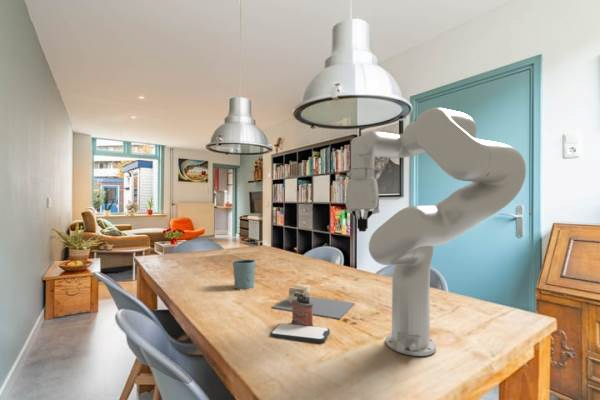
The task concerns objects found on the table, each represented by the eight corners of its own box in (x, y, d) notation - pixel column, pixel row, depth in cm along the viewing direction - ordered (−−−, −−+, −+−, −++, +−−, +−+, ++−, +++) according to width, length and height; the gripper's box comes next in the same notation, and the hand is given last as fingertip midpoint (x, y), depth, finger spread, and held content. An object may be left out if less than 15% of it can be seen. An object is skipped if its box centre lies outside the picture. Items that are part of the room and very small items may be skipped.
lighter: (315, 327, 95) (315, 294, 95) (308, 330, 92) (308, 297, 93) (296, 320, 100) (296, 289, 101) (289, 323, 98) (289, 291, 98)
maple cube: (289, 287, 117) (289, 303, 117) (303, 289, 114) (303, 306, 114) (296, 284, 122) (296, 299, 122) (310, 285, 120) (310, 301, 119)
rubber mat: (339, 319, 102) (339, 318, 102) (271, 307, 113) (271, 306, 113) (354, 304, 118) (354, 302, 118) (293, 295, 129) (293, 294, 129)
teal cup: (253, 290, 136) (253, 263, 136) (230, 290, 136) (230, 263, 137) (256, 284, 146) (256, 259, 147) (235, 284, 146) (235, 259, 147)
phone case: (268, 339, 88) (323, 346, 83) (268, 333, 88) (323, 339, 83) (280, 327, 97) (330, 333, 92) (280, 322, 97) (330, 327, 92)
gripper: (337, 174, 101) (337, 231, 101) (383, 173, 95) (383, 233, 95) (344, 176, 108) (344, 229, 108) (387, 175, 102) (388, 231, 101)
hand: (362, 231), depth 101 cm, fingers closed
